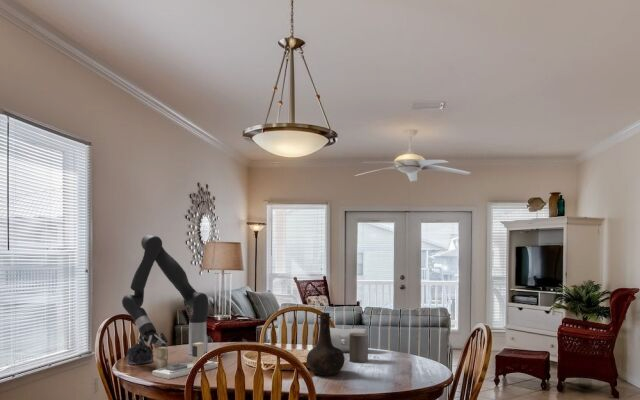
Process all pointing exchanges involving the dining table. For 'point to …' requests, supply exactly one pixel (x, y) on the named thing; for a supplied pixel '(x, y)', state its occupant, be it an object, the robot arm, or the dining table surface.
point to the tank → (343, 337)
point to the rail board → (185, 364)
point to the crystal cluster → (138, 355)
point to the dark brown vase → (325, 351)
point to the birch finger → (161, 357)
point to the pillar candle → (358, 347)
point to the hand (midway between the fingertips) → (158, 352)
